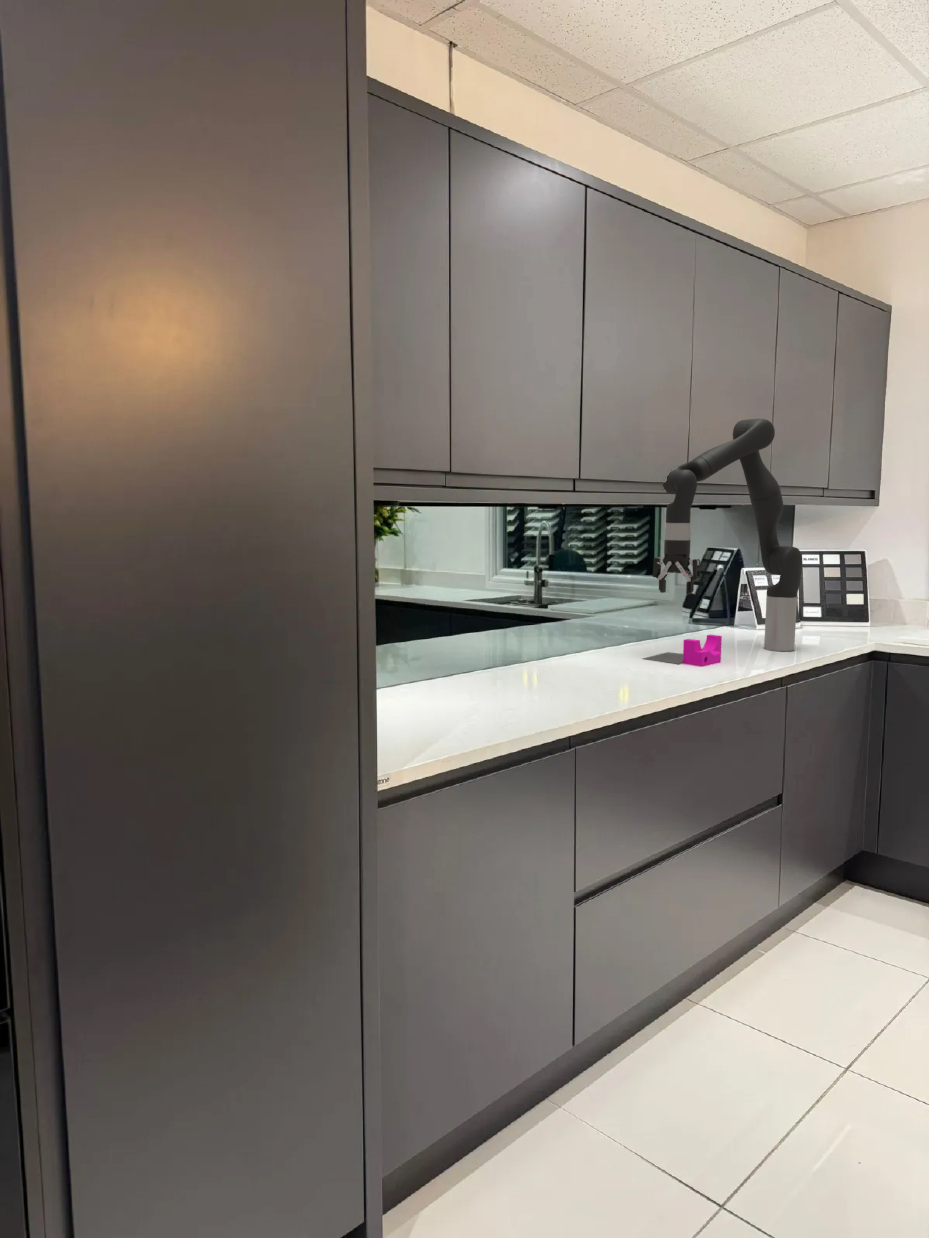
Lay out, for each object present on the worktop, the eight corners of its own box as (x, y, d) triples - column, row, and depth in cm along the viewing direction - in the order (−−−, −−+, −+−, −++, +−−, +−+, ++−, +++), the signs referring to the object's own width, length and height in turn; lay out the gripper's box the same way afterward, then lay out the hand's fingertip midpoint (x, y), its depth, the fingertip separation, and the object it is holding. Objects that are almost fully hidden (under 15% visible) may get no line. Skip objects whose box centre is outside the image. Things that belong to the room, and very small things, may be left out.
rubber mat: (667, 654, 270) (667, 652, 270) (703, 658, 262) (703, 656, 262) (641, 660, 258) (641, 658, 258) (678, 665, 250) (678, 663, 250)
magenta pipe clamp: (701, 668, 248) (702, 642, 247) (682, 665, 252) (683, 639, 251) (728, 661, 258) (729, 636, 257) (709, 659, 263) (710, 634, 262)
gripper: (705, 538, 254) (703, 594, 256) (662, 537, 263) (660, 590, 265) (693, 539, 248) (691, 596, 250) (649, 538, 257) (648, 592, 259)
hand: (675, 593), depth 258 cm, fingers open, 8 cm apart
